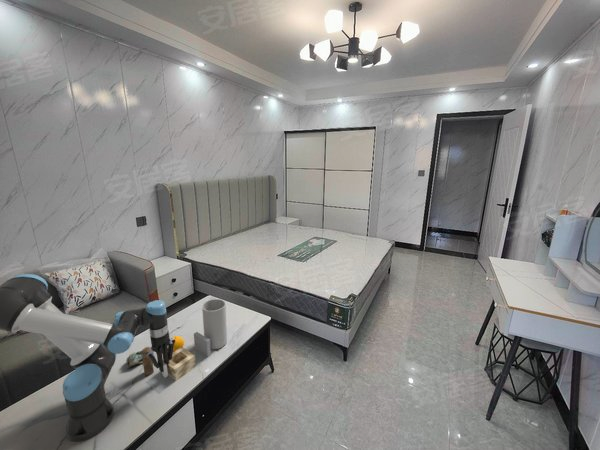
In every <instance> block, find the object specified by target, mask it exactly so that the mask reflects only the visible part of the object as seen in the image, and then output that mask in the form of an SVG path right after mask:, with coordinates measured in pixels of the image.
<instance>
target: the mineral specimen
mask: <svg viewBox="0 0 600 450" xmlns="http://www.w3.org/2000/svg"><path fill="white" fill-rule="evenodd" d="M148 347H149V348H151V346H146V347H144V349H145V348H148ZM153 353H154V351H153ZM125 361H126V363H127V364H126V368H127V369H129V368H133V367H134V366H136V365H139V364H143V359H142V350H139V351H137V352H133V353H130V354H129V356H128V357H126V360H125Z"/></svg>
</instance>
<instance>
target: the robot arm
mask: <svg viewBox="0 0 600 450" xmlns="http://www.w3.org/2000/svg"><path fill="white" fill-rule="evenodd" d="M48 286H49V285H48V282H47V281H46V279H45V278H43V277H41V276H40V275H38V274H37V275H36V274H33V273H31V274H30V273H23V274H18V275H15V276H13V277H11V278H9V279H7V280H5V281H4V282H2V283H1V284H0V331H4V332H9V333H16V332H18V331H24V332H28V333H29V332H30V333H34V334H39V335H43V336H44V337H46V338H47V339H48V340H49V341H50V342H51V343H53V344H54V345H55V346H56V347H57V348H58V349H59V350H61V351H62V352H63V353H64V354H65V355H67V356H68V357H69V358H70V359H71V360H70V363H69V365H70V366H72V368H73V369H74V370H72V371H70V373H68V375H67V376H66V377H65V379H64V380H63V382H62V383H63V384H62V395H63V397H64V401H65V405H66V410H67V413H68V417H67V418H68V419H67V423H66V427H65V433H66V437H67V438H68V440H70V441H72V442H82V441H86V440H89V439H90V438H93V437H95V436H97V435H98V434H99V433H101V432H102V431H104V429H106V428H107V427H108V426H109V424H110V423H111V422H112V420H113V418H114V416H115V409H114V408H115V407H114V405H113V404H112V403H111V401H110V400H109V399H108V398H107V396H106V392H105V391H106V390H105V385H106V382H107V381H108V377H109V375H110V373H111V370H112V368H113V367H114V365H115V363H116V360H117V359H116V358H117V355H118V354H123V353H126V352H127V351H128V350H129V349H130V348H131V346H132V344H133V342H134V340H135V336H136V333H137V331H138V329H139V327H145V326H148V330H149V337H150V343H151V346H150V347H151V350H150V352H147V353H146V355H147V356H149V357H150V359H151V361H152V363H153V367H154V368H156V369H159V373H160V372H162V376H164V377H167V376H168V371H167V369H168V368H169V365H168V364H169V363H170V362H169V360H171V359H172V355H173V347H174V343H175V340H174V339H173V337H171V338H170V333H169V323H168V315H167V308H166V304H165V301H164V300H161V299H160V300H158V299H156V300H153V301H150V302H148V303H147V304H146V306H145V307H142V308H135V309H130V310H129V309H126V310H124V311H118V312H117V313H116V314H115V316H114V319H113V323H109V322H104V321H99V320H95V319H92V318H91V319H90V318H86V317H81V316H76V315H71V314H67V313H64V312H62V311H61V310H60V309H59V308H58V307H57V306H56V305H55V304H53V303H52V299H53V296H52V295H51V294H50V293H49V292H48ZM153 351H154V352H155V353H156V356H155V355H154V352H153ZM156 358H157V359H156ZM163 361H164V362H163Z"/></svg>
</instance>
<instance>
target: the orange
mask: <svg viewBox="0 0 600 450" xmlns="http://www.w3.org/2000/svg"><path fill="white" fill-rule="evenodd" d="M172 338H173V339H174V340H175V343H174V347H173V352H175V351H176V350H178V349H179V348H181V347H182V348H184V346H185V340H184V339H183V337H182V336H180V335H179V336H178V335H177V336H173V337H172Z"/></svg>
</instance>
